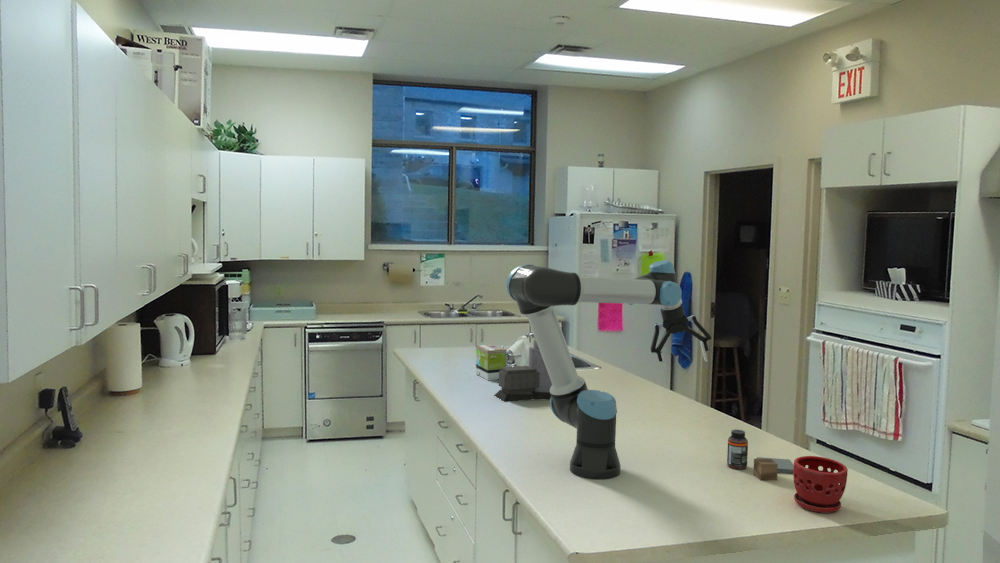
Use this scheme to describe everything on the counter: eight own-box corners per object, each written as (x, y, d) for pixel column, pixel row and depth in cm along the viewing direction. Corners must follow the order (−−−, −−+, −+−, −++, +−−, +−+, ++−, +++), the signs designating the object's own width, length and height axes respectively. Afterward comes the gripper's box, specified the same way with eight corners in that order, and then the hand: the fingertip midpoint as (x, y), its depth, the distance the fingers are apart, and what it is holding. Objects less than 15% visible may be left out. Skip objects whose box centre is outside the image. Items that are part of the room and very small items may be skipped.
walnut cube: (777, 480, 213) (777, 463, 213) (760, 480, 213) (761, 464, 213) (769, 474, 218) (770, 458, 218) (753, 474, 218) (754, 458, 218)
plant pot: (783, 506, 193) (785, 462, 192) (804, 494, 203) (806, 452, 202) (833, 521, 184) (836, 475, 183) (852, 507, 193) (855, 463, 192)
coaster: (796, 473, 219) (796, 469, 219) (761, 471, 221) (762, 467, 221) (789, 463, 229) (789, 459, 229) (756, 460, 231) (756, 457, 231)
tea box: (475, 374, 356) (475, 344, 354) (493, 373, 360) (494, 343, 359) (487, 380, 342) (487, 349, 341) (506, 379, 346) (507, 348, 345)
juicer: (554, 390, 326) (555, 336, 324) (570, 398, 311) (572, 341, 309) (491, 394, 315) (492, 338, 313) (505, 403, 300) (506, 344, 298)
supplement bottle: (731, 462, 229) (732, 427, 228) (749, 466, 225) (751, 430, 224) (723, 467, 224) (725, 431, 224) (742, 471, 221) (744, 435, 220)
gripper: (707, 294, 242) (720, 352, 247) (633, 312, 247) (648, 369, 251) (710, 300, 235) (724, 360, 239) (635, 318, 240) (650, 377, 244)
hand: (685, 364), depth 245 cm, fingers open, 13 cm apart
